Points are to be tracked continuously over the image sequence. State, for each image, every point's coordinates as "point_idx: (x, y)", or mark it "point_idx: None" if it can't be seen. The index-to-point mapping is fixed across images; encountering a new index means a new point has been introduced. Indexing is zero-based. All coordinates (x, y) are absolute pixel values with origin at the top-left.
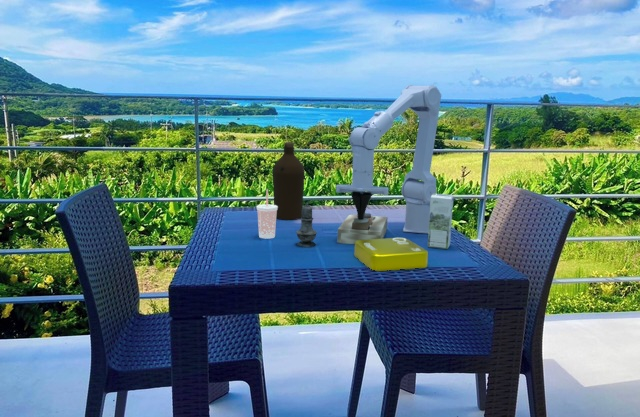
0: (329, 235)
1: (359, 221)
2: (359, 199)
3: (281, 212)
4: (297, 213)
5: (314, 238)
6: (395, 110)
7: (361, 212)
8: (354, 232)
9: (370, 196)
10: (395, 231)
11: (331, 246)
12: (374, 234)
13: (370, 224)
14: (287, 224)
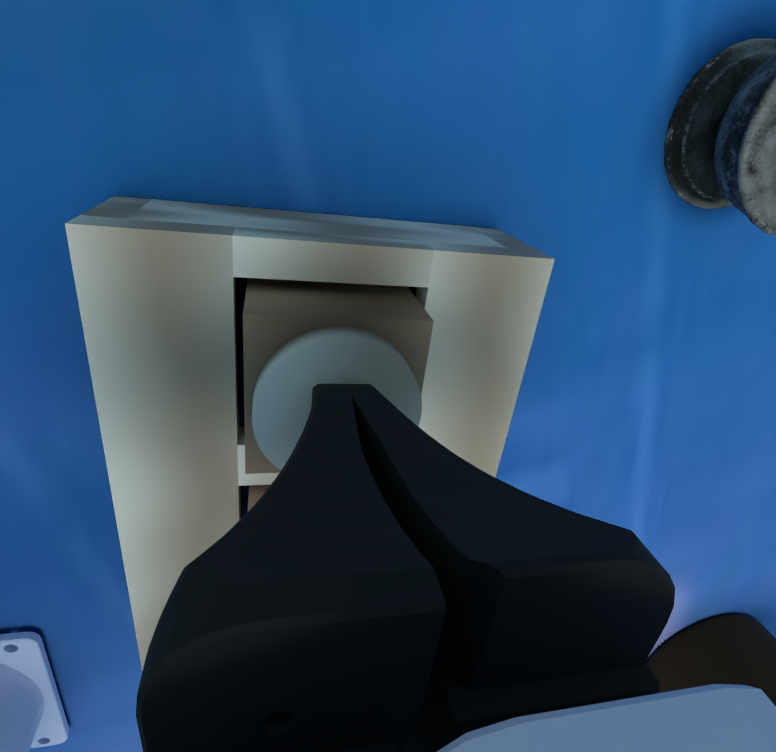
0: (538, 416)
1: (351, 336)
2: (452, 531)
3: (771, 645)
4: (689, 668)
5: (728, 109)
6: None
7: (347, 416)
8: (381, 239)
9: (140, 683)
10: (101, 627)
11: (550, 101)
12: (152, 221)
13: (248, 501)
14: (731, 553)
